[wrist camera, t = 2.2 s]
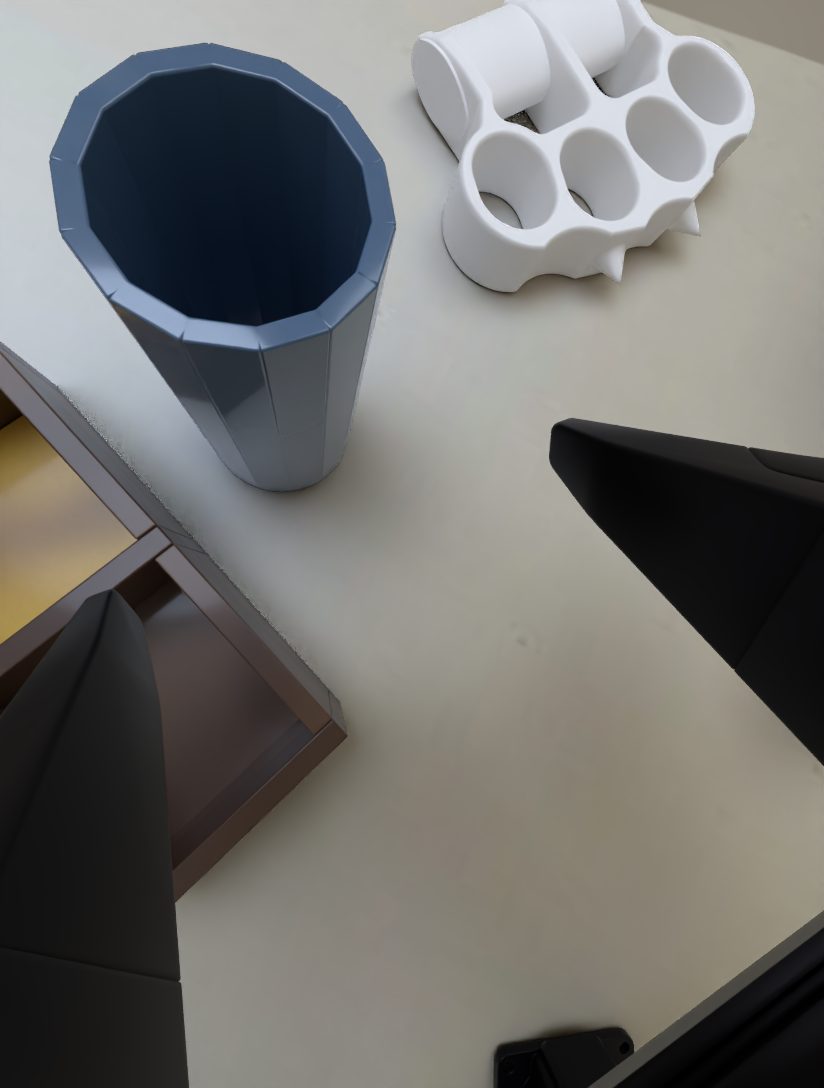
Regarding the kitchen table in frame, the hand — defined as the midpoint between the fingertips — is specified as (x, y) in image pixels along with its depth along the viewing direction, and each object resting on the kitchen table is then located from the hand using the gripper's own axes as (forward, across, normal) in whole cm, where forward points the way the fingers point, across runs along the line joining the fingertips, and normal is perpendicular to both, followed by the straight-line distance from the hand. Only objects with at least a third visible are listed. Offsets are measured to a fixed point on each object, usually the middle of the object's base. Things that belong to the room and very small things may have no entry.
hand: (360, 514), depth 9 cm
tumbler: (+13, 0, +4) cm, 14 cm away
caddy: (+9, +10, +8) cm, 16 cm away
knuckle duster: (+20, -19, -2) cm, 28 cm away
